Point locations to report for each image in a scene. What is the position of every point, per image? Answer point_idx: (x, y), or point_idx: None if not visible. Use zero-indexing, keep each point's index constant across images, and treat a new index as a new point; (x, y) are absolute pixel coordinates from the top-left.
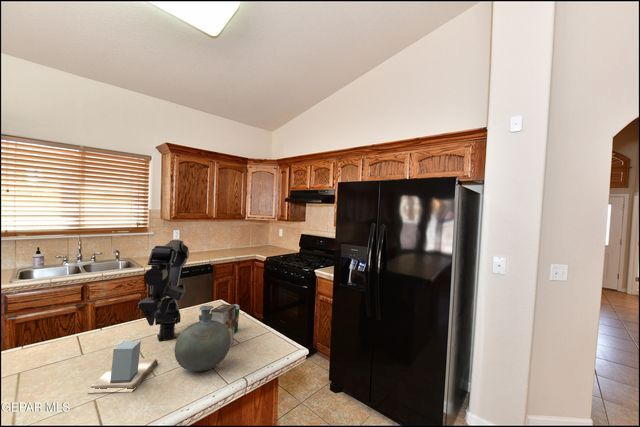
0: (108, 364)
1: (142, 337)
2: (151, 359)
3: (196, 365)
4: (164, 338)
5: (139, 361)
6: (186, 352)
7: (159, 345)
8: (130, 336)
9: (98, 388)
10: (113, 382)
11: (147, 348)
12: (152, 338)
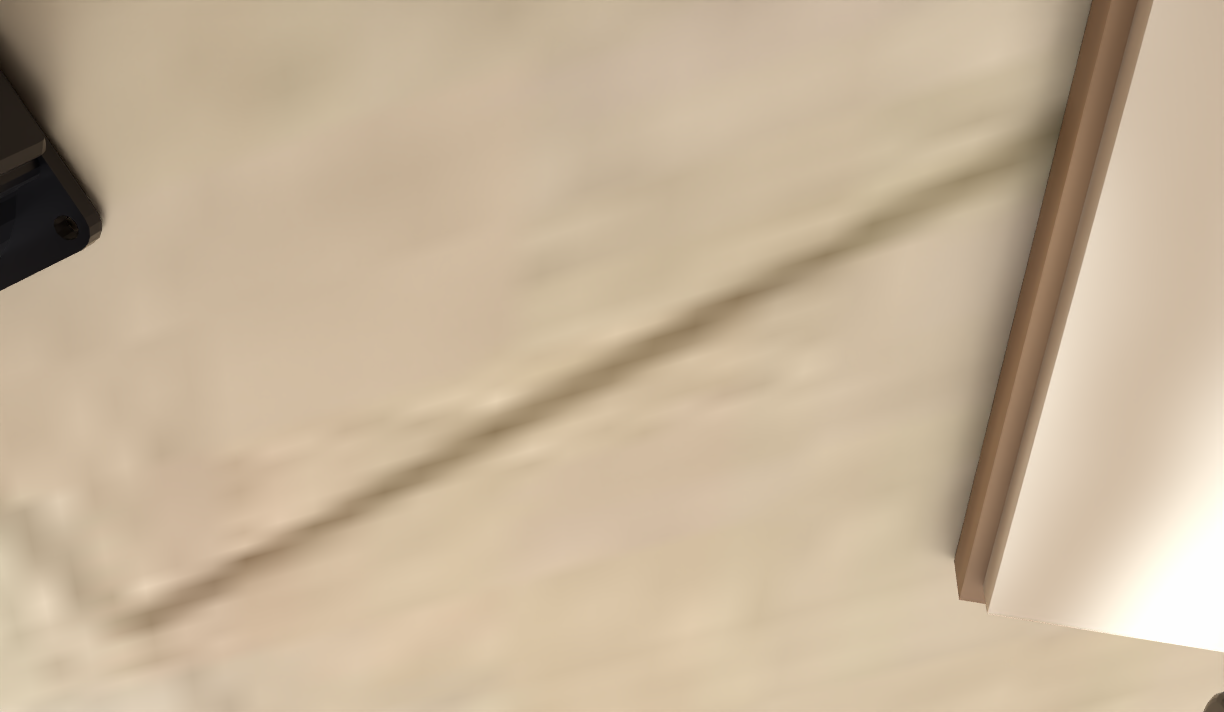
0: (911, 706)
1: (4, 535)
2: (1184, 76)
3: None
4: (37, 150)
5: (1197, 300)
6: None
7: (261, 165)
8: (8, 692)
9: None
10: None
11: (393, 341)
12: (7, 378)
